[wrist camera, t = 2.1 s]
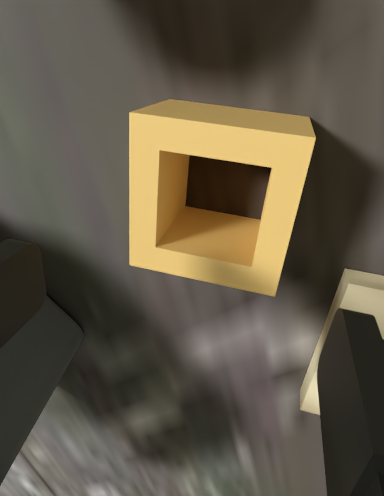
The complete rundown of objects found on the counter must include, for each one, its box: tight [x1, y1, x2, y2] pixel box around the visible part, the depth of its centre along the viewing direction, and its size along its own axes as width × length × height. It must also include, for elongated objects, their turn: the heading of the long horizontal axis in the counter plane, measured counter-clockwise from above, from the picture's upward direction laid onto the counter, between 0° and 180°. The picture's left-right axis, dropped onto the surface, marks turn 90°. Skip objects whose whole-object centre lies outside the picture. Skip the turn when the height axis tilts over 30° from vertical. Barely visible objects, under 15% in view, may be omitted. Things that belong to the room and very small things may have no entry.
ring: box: [129, 99, 316, 297], centre depth 16 cm, size 7×7×5 cm
